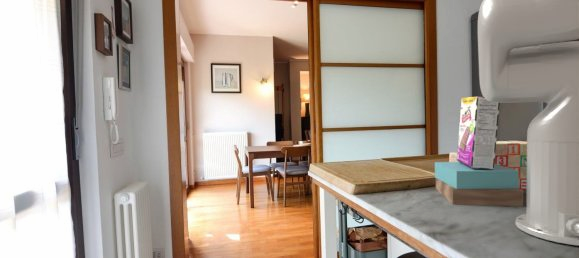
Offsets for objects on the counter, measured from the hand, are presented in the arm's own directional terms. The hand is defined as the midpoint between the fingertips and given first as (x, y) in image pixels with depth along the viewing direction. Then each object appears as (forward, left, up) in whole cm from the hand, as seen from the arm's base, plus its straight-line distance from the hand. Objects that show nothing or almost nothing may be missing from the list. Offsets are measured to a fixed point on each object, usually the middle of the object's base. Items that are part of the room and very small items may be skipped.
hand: (547, 43), depth 74 cm
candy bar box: (-4, +18, -29) cm, 34 cm away
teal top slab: (-4, +18, -33) cm, 37 cm away
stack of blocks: (+7, +8, -37) cm, 38 cm away
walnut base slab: (-4, +17, -37) cm, 41 cm away
